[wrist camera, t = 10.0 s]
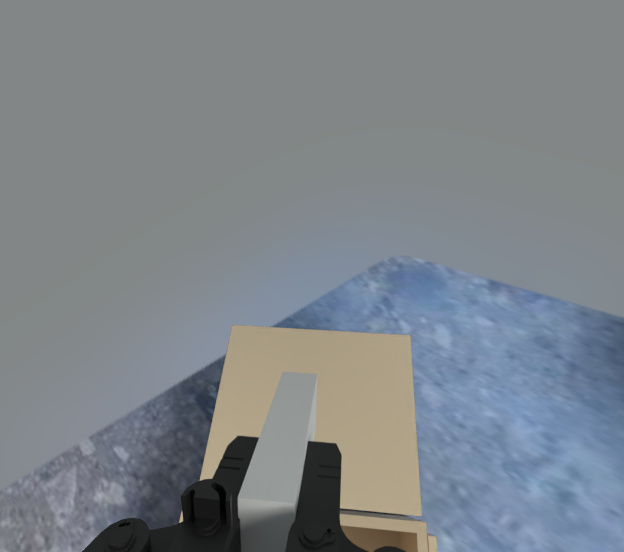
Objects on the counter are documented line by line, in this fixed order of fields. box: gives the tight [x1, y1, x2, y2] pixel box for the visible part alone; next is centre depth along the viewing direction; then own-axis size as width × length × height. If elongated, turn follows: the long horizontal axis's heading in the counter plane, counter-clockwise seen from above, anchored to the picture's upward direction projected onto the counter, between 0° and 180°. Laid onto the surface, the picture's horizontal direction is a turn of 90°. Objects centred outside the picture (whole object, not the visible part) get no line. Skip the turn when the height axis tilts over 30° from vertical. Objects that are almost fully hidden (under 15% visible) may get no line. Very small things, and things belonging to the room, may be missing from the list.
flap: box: [200, 325, 422, 516], centre depth 27 cm, size 14×1×12 cm
